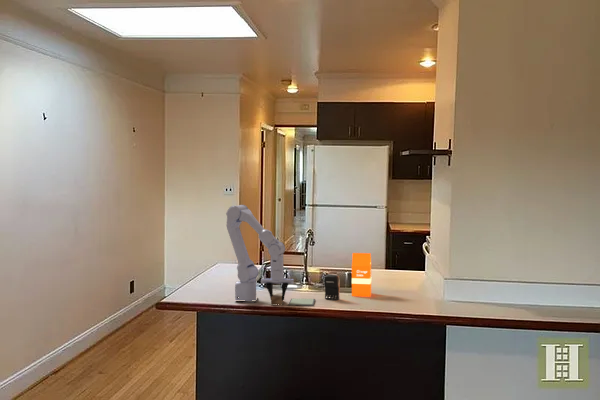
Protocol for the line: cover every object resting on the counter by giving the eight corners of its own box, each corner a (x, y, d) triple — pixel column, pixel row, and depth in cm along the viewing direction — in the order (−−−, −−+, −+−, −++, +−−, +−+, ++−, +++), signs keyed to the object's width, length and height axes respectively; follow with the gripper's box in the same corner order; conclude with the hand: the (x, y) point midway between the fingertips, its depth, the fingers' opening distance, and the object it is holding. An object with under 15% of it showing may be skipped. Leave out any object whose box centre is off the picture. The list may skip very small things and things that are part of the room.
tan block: (271, 305, 231) (271, 297, 230) (273, 300, 238) (273, 293, 238) (281, 305, 230) (281, 297, 230) (283, 301, 238) (283, 293, 238)
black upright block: (322, 299, 240) (322, 275, 239) (326, 298, 243) (326, 273, 243) (337, 301, 237) (336, 276, 236) (340, 299, 240) (340, 274, 240)
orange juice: (370, 296, 245) (370, 254, 244) (351, 296, 247) (351, 254, 246) (371, 293, 253) (371, 252, 252) (353, 292, 254) (353, 251, 253)
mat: (288, 305, 229) (288, 304, 229) (291, 299, 240) (291, 298, 240) (313, 306, 228) (313, 304, 228) (315, 300, 239) (315, 298, 239)
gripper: (259, 270, 230) (259, 301, 231) (292, 271, 229) (292, 301, 230) (262, 268, 237) (262, 297, 238) (293, 268, 236) (294, 298, 237)
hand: (277, 299), depth 234 cm, fingers closed on tan block, 4 cm apart
